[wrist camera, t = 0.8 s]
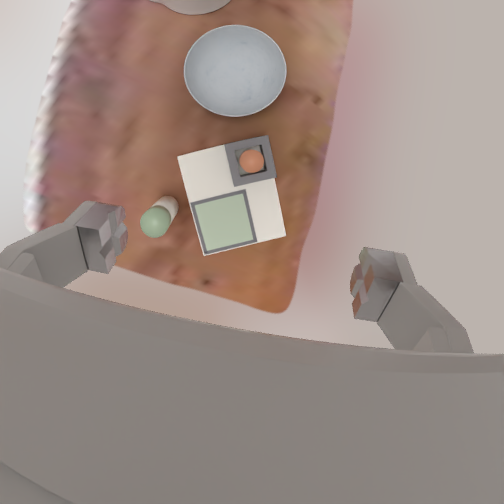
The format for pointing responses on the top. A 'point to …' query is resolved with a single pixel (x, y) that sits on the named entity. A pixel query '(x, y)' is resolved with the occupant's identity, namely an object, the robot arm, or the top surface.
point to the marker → (159, 216)
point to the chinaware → (235, 70)
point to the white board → (232, 196)
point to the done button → (251, 161)
